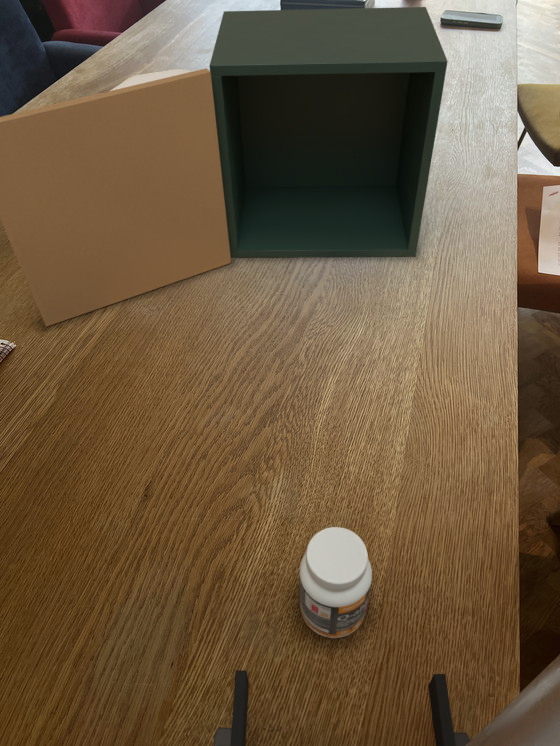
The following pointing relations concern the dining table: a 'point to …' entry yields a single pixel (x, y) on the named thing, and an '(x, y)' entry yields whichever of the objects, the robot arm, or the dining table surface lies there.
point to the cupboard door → (114, 193)
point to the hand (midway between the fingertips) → (338, 677)
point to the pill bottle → (335, 582)
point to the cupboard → (326, 129)
